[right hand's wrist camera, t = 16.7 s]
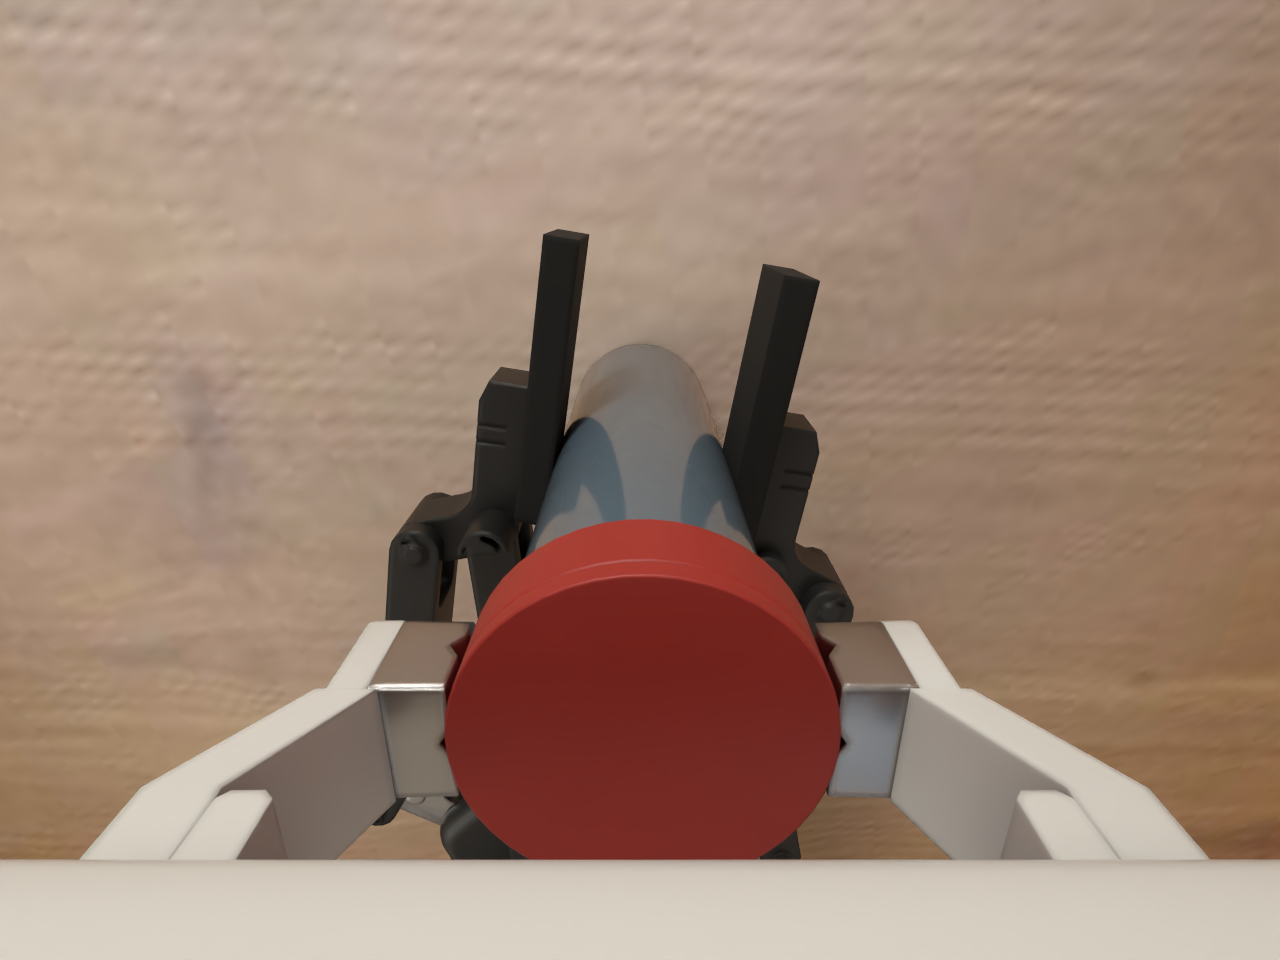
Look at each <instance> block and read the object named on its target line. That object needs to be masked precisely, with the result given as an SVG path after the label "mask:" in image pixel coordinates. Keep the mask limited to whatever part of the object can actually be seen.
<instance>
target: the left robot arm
mask: <svg viewBox="0 0 1280 960" xmlns="http://www.w3.org/2000/svg"><path fill="white" fill-rule="evenodd" d="M588 240H589V234H584V233H578V232H572V231H566V230H560V229H557V230H554V231H551V232H548V233H546V234H543V243H542V252H541V262H540V272H539V282H538V291H537V301H536V311H535V321H534V330H533V340H532V350H531V360H530V369H529V371H523V370H517V369H511V368H504V367H500V369H499V370H498V371H497V372H496V373H495V375H494V376H493V377H492V378H491V379H490V381H489V383H488V385H487V386H486V388H485V390H484V392H483V394H482V396H481V398H480V400H479V409H478V425H477V435H476V438H477V440H476V448H475V462H474V475H473V488H472V490H471V491H470V492H467V493H464V494H459V495H454V496H450V495H447V494H444V493H432V494H429V495H427V496H425V497H424V499H423V500H422V501H421V502H420V503H419V505H418V506H417V507H416V509H415V510H414V511H413V513H412V514H411V516H410V517H409V518H408V520H407V521H406V522H405V524H404V525H403V527H402V528H401V529H400V531H399V532H398V533H397V535H396V536H395V538H394V539H393V540H392V542H391V546H390V549H389V565H388V583H387V602H386V620H385V621H397V620H404V621H446V622H452V615H453V605H454V594H455V584H456V574H457V563H458V559H463V558H468V563H469V569H470V575H471V581H472V587H473V592H474V598H475V604H476V610H477V616H478V619H479V616H480V613H481V611H482V609H483V608H484V606H485V604H486V602H487V600H488V598H489V596H490V595H491V593H492V592H493V591H494V589H495V588H496V587H497V585H498V584H499V583H500V581H501V580H502V579H503V578H504V577H505V576H506V575H507V574H508V573H509V572H510V571H511V570H512V569H513V568H514V567H515V566H516V565H517V564H518V563H519V562H520V561H522V560H523V559H524V558H525V557H526V554H527V551H528V548H529V544H530V541H531V538H532V535H533V528H532V524H534V525H536V522H537V519H538V516H539V513H540V510H541V507H542V504H543V501H544V497H545V494H546V491H547V488H548V485H549V482H550V479H551V475H552V472H553V469H554V466H555V463H556V460H557V457H558V454H559V450H560V447H561V444H562V441H563V438H564V431H565V423H566V415H567V407H568V399H569V391H570V383H571V375H572V367H573V359H574V351H575V343H576V335H577V327H578V319H579V311H580V303H581V296H582V288H583V280H584V272H585V264H586V256H587V248H588ZM819 283H820V281H819V280H817V279H814V278H812V277H810V276H808V275H805V274H803V273H801V272H799V271H796V270H794V269H790V268H784V267H778V266H772V265H767V264H763V267H762V271H761V276H760V280H759V285H758V289H757V294H756V299H755V303H754V308H753V312H752V317H751V321H750V326H749V331H748V335H747V340H746V344H745V349H744V354H743V358H742V363H741V367H740V372H739V376H738V381H737V386H736V390H735V395H734V399H733V404H732V409H731V413H730V418H729V422H728V427H727V431H726V436H725V441H724V445H723V453H724V456H725V459H726V462H727V465H728V468H729V471H730V474H731V477H732V480H733V483H734V486H735V489H736V492H737V495H738V498H739V501H740V504H741V507H742V510H743V513H744V516H745V519H746V522H747V525H748V528H749V531H750V534H751V537H752V540H753V543H754V546H755V549H756V552H757V555H758V556H759V557H760V558H761V559H763V560H764V561H765V562H766V563H767V564H768V565H769V566H770V567H771V568H773V569H774V570H775V571H776V572H777V573H778V574H779V575H780V577H781V578H782V579H783V580H784V581H785V583H786V584H787V585H788V586H789V587H790V589H791V590H792V592H793V593H794V595H795V597H796V598H797V600H798V602H799V603H800V605H801V607H802V609H803V612H804V614H805V617H806V619H807V621H808V624H809V626H810V623H839V622H851V620H852V617H853V608H854V607H853V605H852V602H851V600H850V598H849V596H848V594H847V592H846V590H845V588H844V586H843V584H842V583H841V581H840V579H839V577H838V575H837V573H836V571H835V569H834V567H833V566H832V564H831V562H830V560H829V558H828V556H827V555H826V554H825V553H824V552H823V551H822V550H820V549H817V548H814V547H809V548H805V547H803V546H801V545H799V544H797V543H796V542H795V540H796V536H797V532H798V529H799V525H800V521H801V518H802V514H803V511H804V507H805V503H806V500H807V496H808V490H809V489H810V485H811V481H812V478H813V477H812V475H813V474H814V470H815V467H816V463H817V459H818V456H819V448H818V440H817V433H816V431H815V429H814V428H813V427H812V426H811V424H810V423H809V422H808V420H807V419H806V418H805V416H804V415H801V414H795V413H789V412H787V411H788V407H789V403H790V399H791V395H792V391H793V387H794V383H795V379H796V375H797V371H798V367H799V363H800V359H801V355H802V351H803V347H804V343H805V339H806V335H807V331H808V327H809V323H810V319H811V315H812V311H813V307H814V303H815V299H816V295H817V291H818V287H819ZM395 799H396V802H395V803H394V804H393V805H392V806H391V807H390V808H389V809H387V810H386V811H385V812H384V813H383V814H382V815H381V816H380V817H379V818H378V819H377V820H376V821H375V822H374V823H373V824H372V825H374V826H378V825H385V824H388V823H390V822H391V821H392V820H393V819H394V818H395V816H396V814H397V813H398V811H399V809H402V810H404V811H407V812H409V813H412V814H414V815H416V816H419V817H421V818H424V819H426V820H429V821H431V822H434V823H436V824H438V825H441V827H440V836H441V841H442V844H443V846H444V848H445V849H446V851H447V852H448V854H449V855H450V857H451V859H452V860H530V859H528V858H526V857H524V856H523V855H521V854H520V853H518V852H517V851H515V850H514V849H512V848H511V847H509V846H508V845H506V844H505V843H504V842H503V841H502V840H500V839H499V838H498V837H497V836H496V835H494V834H493V833H492V832H491V831H490V830H489V829H488V828H487V827H486V826H485V825H484V824H483V823H482V822H481V821H480V819H479V818H478V817H477V816H476V815H475V814H474V812H473V811H472V809H471V808H470V806H469V805H468V804H467V802H466V801H465V799H464V798H463V796H462V794H461V792H459V795H458V796H444V797H410V798H395ZM760 860H801V854H800V848H799V843H798V837H797V831H796V830H795V831H794V832H793V833H792V834H791V835H790V836H789V837H787V838H786V839H785V840H784V841H783V842H781V843H780V844H779V845H777V846H776V847H774V848H773V849H772V850H770V851H769V852H767V853H766V854H764V855H762V856H760Z"/></svg>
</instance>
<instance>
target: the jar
mask: <svg viewBox="0 0 1280 960" xmlns="http://www.w3.org/2000/svg"><path fill="white" fill-rule="evenodd" d="M632 519H654V520H665V521H675V522H679V523H684V524H688V525H693V526H697V527H700V528H703V529H706V530H709V531H712V532H715V533H717V534H720V535H723V536H725V537H727V538H729V539H731V540H733V541H734V542H736V543H738V544H740V545H742V546H744V547H745V548H747V549H748V550H750V551H751V552H753V553H754V554H756V555H757V552H756V549H755V546H754V543H753V540H752V537H751V534H750V531H749V528H748V525H747V522H746V519H745V516H744V513H743V510H742V507H741V504H740V501H739V498H738V495H737V492H736V489H735V486H734V483H733V480H732V477H731V474H730V471H729V468H728V465H727V462H726V459H725V456H724V453H723V450H722V447H721V444H720V441H719V438H718V435H717V432H716V429H715V426H714V423H713V420H712V417H711V414H710V410H709V407H708V404H707V401H706V398H705V395H704V392H703V389H702V387H701V384H700V381H699V380H698V378H697V376H696V374H695V373H694V371H693V370H692V368H691V367H690V366H689V365H688V364H687V363H686V362H685V361H684V360H683V359H681V358H680V357H679V356H677V355H676V354H674V353H672V352H671V351H668V350H666V349H664V348H661V347H657V346H652V345H642V344H637V345H629V346H625V347H621V348H618V349H615V350H613V351H611V352H609V353H607V354H606V355H604V356H603V357H601V358H600V359H599V360H598V361H597V362H596V363H595V364H594V365H593V366H592V367H591V368H590V369H589V371H588V372H587V373H586V375H585V377H584V378H583V380H582V383H581V385H580V388H579V391H578V394H577V397H576V400H575V403H574V407H573V410H572V413H571V416H570V419H569V422H568V425H567V429H566V432H565V435H564V438H563V441H562V444H561V447H560V450H559V454H558V457H557V460H556V463H555V466H554V469H553V472H552V475H551V479H550V482H549V485H548V488H547V491H546V494H545V497H544V501H543V504H542V507H541V510H540V513H539V516H538V519H537V522H536V526H535V529H534V532H533V535H532V538H531V541H530V544H529V548H528V551H527V554H526V557H527V556H528V555H530V554H531V553H532V552H534V551H535V550H536V549H538V548H540V547H542V546H544V545H545V544H547V543H549V542H551V541H552V540H554V539H556V538H558V537H561V536H563V535H566V534H568V533H571V532H573V531H576V530H578V529H582V528H585V527H589V526H593V525H597V524H600V523H606V522H613V521H620V520H632ZM757 556H758V555H757ZM526 557H525V558H526Z"/></svg>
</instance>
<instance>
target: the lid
mask: <svg viewBox="0 0 1280 960" xmlns="http://www.w3.org/2000/svg"><path fill="white" fill-rule="evenodd" d="M840 740H841V719H840V709H839V705H838V701H837V696H836V692H835V689H834V687H833V684H832V681H831V679H830V677H829V674H828V671H827V669H826V666H825V664H824V661H823V659H822V656H821V654H820V651H819V649H818V646H817V644H816V641H815V639H814V636H813V634H812V631H811V629H810V626H809V624H808V621H807V619H806V617H805V614H804V612H803V609H802V607H801V605H800V603H799V602H798V600H797V598H796V597H795V595H794V593H793V592H792V590H791V589H790V587H789V586H788V585H787V584H786V583H785V581H784V580H783V579H782V578H781V577H780V575H779V574H778V573H777V572H776V571H775V570H774V569H773V568H771V567H770V566H769V565H768V564H767V563H766V562H765V561H764V560H763V559H761V558H760V557H759V556H757V555H756V554H754V553H753V552H751V551H750V550H748V549H747V548H745V547H744V546H742V545H740V544H738V543H736V542H734V541H733V540H731V539H729V538H727V537H725V536H723V535H720V534H717V533H715V532H712V531H709V530H706V529H703V528H700V527H697V526H693V525H688V524H684V523H679V522H675V521H665V520H654V519H632V520H620V521H613V522H606V523H600V524H597V525H593V526H589V527H585V528H582V529H578V530H576V531H573V532H571V533H568V534H566V535H563V536H561V537H558V538H556V539H554V540H552V541H551V542H549V543H547V544H545V545H544V546H542V547H540V548H538V549H536V550H535V551H534V552H532V553H531V554H530V555H528V556H527V557H526V558H524V559H523V560H522V561H520V562H519V563H518V564H517V565H516V566H515V567H514V568H513V569H512V570H511V571H510V572H509V573H508V574H507V575H506V576H505V577H504V578H503V579H502V580H501V581H500V583H499V584H498V585H497V587H496V588H495V589H494V591H493V592H492V593H491V595H490V596H489V598H488V600H487V602H486V604H485V606H484V608H483V609H482V611H481V613H480V616H479V619H478V621H477V624H476V626H475V629H474V631H473V634H472V637H471V639H470V642H469V644H468V647H467V650H466V652H465V655H464V657H463V660H462V663H461V665H460V668H459V670H458V673H457V675H456V678H455V681H454V684H453V687H452V689H451V692H450V695H449V698H448V703H447V709H446V715H445V744H446V750H447V757H448V762H449V765H450V768H451V771H452V774H453V777H454V780H455V782H456V784H457V786H458V788H459V790H460V792H461V794H462V796H463V798H464V799H465V801H466V802H467V804H468V805H469V806H470V808H471V809H472V811H473V812H474V814H475V815H476V816H477V817H478V818H479V819H480V821H481V822H482V823H483V824H484V825H485V826H486V827H487V828H488V829H489V830H490V831H491V832H492V833H493V834H494V835H496V836H497V837H498V838H499V839H500V840H502V841H503V842H504V843H505V844H506V845H508V846H509V847H511V848H512V849H514V850H515V851H517V852H518V853H520V854H521V855H523V856H524V857H526V858H528V859H530V860H755V859H757V858H759V857H760V856H762V855H764V854H766V853H767V852H769V851H770V850H772V849H773V848H774V847H776V846H777V845H779V844H780V843H781V842H783V841H784V840H785V839H786V838H787V837H789V836H790V835H791V834H792V833H793V832H794V831H795V830H796V829H797V828H799V827H800V826H801V824H802V823H803V822H804V821H805V820H806V819H807V817H808V816H809V815H810V814H811V813H812V812H813V810H814V809H815V807H816V806H817V804H818V803H819V801H820V800H821V798H822V796H823V795H824V793H825V791H826V789H827V787H828V785H829V782H830V780H831V778H832V776H833V773H834V770H835V766H836V762H837V759H838V755H839V749H840Z"/></svg>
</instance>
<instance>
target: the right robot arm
mask: <svg viewBox="0 0 1280 960" xmlns="http://www.w3.org/2000/svg"><path fill="white" fill-rule="evenodd" d="M475 626H476V625H475V623H474V622H446V621H404V620H397V621H373V622H371V623H369V624H368V625H367V626H366V628H365V629H364V631H363V632H362V634H361V635H360V637H359V638H358V640H357V641H356V643H355V645H354V646H353V648H352V649H351V651H350V652H349V654H348V655H347V657H346V658H345V660H344V661H343V663H342V664H341V666H340V668H339V669H338V671H337V672H336V674H335V675H334V677H333V678H332V680H331V681H330V683H329V684H328V686H327V688H326V689H314V690H312V691H310V692H309V693H307V694H305V695H303V696H301V697H300V698H298V699H296V700H294V701H293V702H291V703H289V704H287V705H285V706H284V707H282V708H280V709H278V710H277V711H275V712H273V713H271V714H270V715H268V716H266V717H264V718H262V719H261V720H259V721H257V722H255V723H254V724H252V725H250V726H248V727H247V728H245V729H243V730H241V731H239V732H238V733H236V734H234V735H232V736H231V737H229V738H227V739H225V740H224V741H222V742H220V743H218V744H216V745H215V746H213V747H211V748H209V749H208V750H206V751H204V752H202V753H201V754H199V755H197V756H195V757H193V758H192V759H190V760H188V761H186V762H185V763H183V764H181V765H179V766H178V767H176V768H174V769H172V770H170V771H169V772H167V773H165V774H163V775H162V776H160V777H158V778H156V779H155V780H153V781H151V782H149V783H147V784H146V785H144V786H142V787H141V788H140V789H139V790H138V791H137V793H136V794H135V795H134V796H133V797H132V798H131V800H130V801H129V802H128V803H127V804H126V805H125V807H124V808H123V809H122V810H121V811H120V812H119V814H118V815H117V816H116V817H115V818H114V819H113V821H112V822H111V823H110V824H109V825H108V826H107V828H106V829H105V830H104V831H103V832H102V833H101V835H100V836H99V837H98V838H97V839H96V840H95V842H94V843H93V844H92V845H91V846H90V847H89V849H88V850H87V851H86V852H85V853H84V854H83V856H82V857H81V858H80V859H79V860H0V960H1280V860H1210V859H1209V857H1208V856H1207V855H1206V854H1205V853H1204V852H1203V851H1202V849H1201V848H1200V847H1199V846H1198V845H1197V844H1196V842H1195V841H1194V840H1193V839H1192V838H1191V837H1190V836H1189V834H1188V833H1187V832H1186V831H1185V830H1184V829H1183V827H1182V826H1181V825H1180V824H1179V823H1178V822H1177V820H1176V819H1175V818H1174V817H1173V816H1172V815H1171V814H1170V812H1169V811H1168V810H1167V809H1166V808H1165V807H1164V805H1163V804H1162V803H1161V802H1160V801H1159V800H1158V799H1157V797H1156V796H1155V795H1154V794H1153V793H1152V792H1151V790H1150V789H1149V788H1147V787H1146V786H1144V785H1142V784H1140V783H1139V782H1137V781H1135V780H1133V779H1131V778H1130V777H1128V776H1126V775H1124V774H1122V773H1121V772H1119V771H1117V770H1115V769H1114V768H1112V767H1110V766H1108V765H1106V764H1105V763H1103V762H1101V761H1099V760H1098V759H1096V758H1094V757H1092V756H1090V755H1089V754H1087V753H1085V752H1083V751H1082V750H1080V749H1078V748H1076V747H1074V746H1073V745H1071V744H1069V743H1067V742H1066V741H1064V740H1062V739H1060V738H1058V737H1057V736H1055V735H1053V734H1051V733H1050V732H1048V731H1046V730H1044V729H1042V728H1041V727H1039V726H1037V725H1035V724H1033V723H1032V722H1030V721H1028V720H1026V719H1025V718H1023V717H1021V716H1019V715H1017V714H1016V713H1014V712H1012V711H1010V710H1009V709H1007V708H1005V707H1003V706H1001V705H1000V704H998V703H996V702H994V701H993V700H991V699H989V698H987V697H985V696H984V695H982V694H980V693H978V692H977V691H975V690H973V689H961V688H960V687H959V685H958V684H957V682H956V681H955V679H954V678H953V676H952V675H951V673H950V672H949V670H948V669H947V667H946V666H945V664H944V663H943V661H942V660H941V658H940V657H939V655H938V654H937V652H936V651H935V649H934V648H933V646H932V645H931V643H930V642H929V640H928V639H927V637H926V636H925V635H924V633H923V632H922V630H921V629H920V627H919V626H918V624H917V623H916V622H914V621H912V620H899V621H878V622H839V623H810V629H811V631H812V634H813V636H814V639H815V641H816V644H817V646H818V649H819V651H820V654H821V656H822V659H823V661H824V664H825V666H826V669H827V671H828V674H829V677H830V679H831V681H832V684H833V687H834V689H835V692H836V696H837V701H838V705H839V709H840V719H841V740H840V749H839V755H838V759H837V762H836V766H835V770H834V773H833V776H832V778H831V780H830V782H829V785H828V787H827V789H826V791H827V794H828V796H840V797H876V798H891V799H890V801H891V802H892V803H893V804H894V805H895V806H896V807H897V808H898V809H899V810H900V811H901V812H902V813H903V814H904V815H906V816H907V817H908V818H909V819H910V820H911V821H912V822H913V823H914V824H915V825H916V826H917V827H918V828H919V829H920V830H921V831H922V832H923V833H924V834H925V835H926V836H927V837H928V838H929V839H931V840H932V841H933V842H934V843H935V844H936V845H937V846H938V847H939V848H940V849H941V850H942V851H943V852H944V853H945V854H946V855H947V856H948V857H949V858H950V859H951V860H336V859H337V858H338V857H339V856H340V855H341V854H342V853H343V852H344V851H345V850H346V849H347V848H348V847H349V846H350V845H351V844H352V843H353V842H354V841H355V840H356V839H357V838H359V837H360V836H361V835H362V834H363V833H364V832H365V831H366V830H367V829H368V828H369V827H370V826H371V825H372V824H373V823H374V822H375V821H376V820H377V819H378V818H379V817H380V816H381V815H382V814H383V813H384V812H385V811H386V810H387V809H389V808H390V807H391V806H392V805H393V804H394V803H395V802H396V799H395V798H410V797H444V796H458V795H459V792H460V790H459V788H458V786H457V784H456V782H455V780H454V777H453V774H452V771H451V768H450V765H449V762H448V757H447V750H446V744H445V715H446V709H447V703H448V698H449V695H450V692H451V689H452V687H453V684H454V681H455V678H456V675H457V673H458V670H459V668H460V665H461V663H462V660H463V657H464V655H465V652H466V650H467V647H468V644H469V642H470V639H471V637H472V634H473V631H474V629H475Z"/></svg>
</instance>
